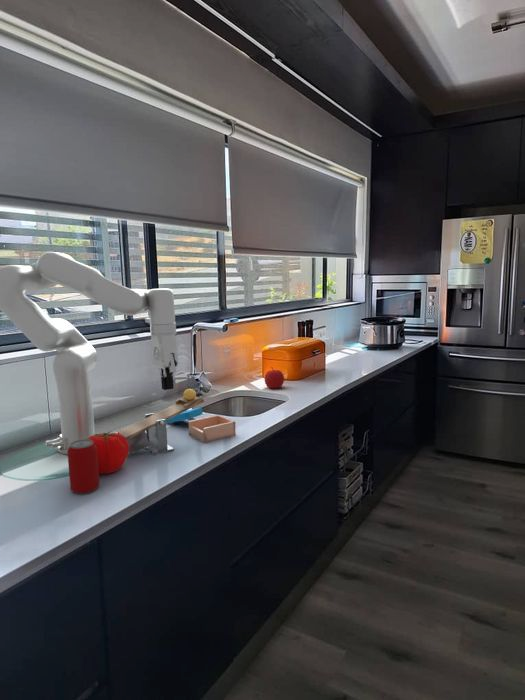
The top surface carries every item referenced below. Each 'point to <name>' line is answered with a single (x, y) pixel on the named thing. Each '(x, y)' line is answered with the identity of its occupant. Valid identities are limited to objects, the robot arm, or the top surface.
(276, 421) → the top surface
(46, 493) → the top surface
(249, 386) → the top surface
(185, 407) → the lever
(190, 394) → the ball
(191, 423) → the dish
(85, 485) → the beverage can
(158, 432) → the fulcrum
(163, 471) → the top surface
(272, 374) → the apple
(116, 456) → the tomato
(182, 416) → the blue wedge block
